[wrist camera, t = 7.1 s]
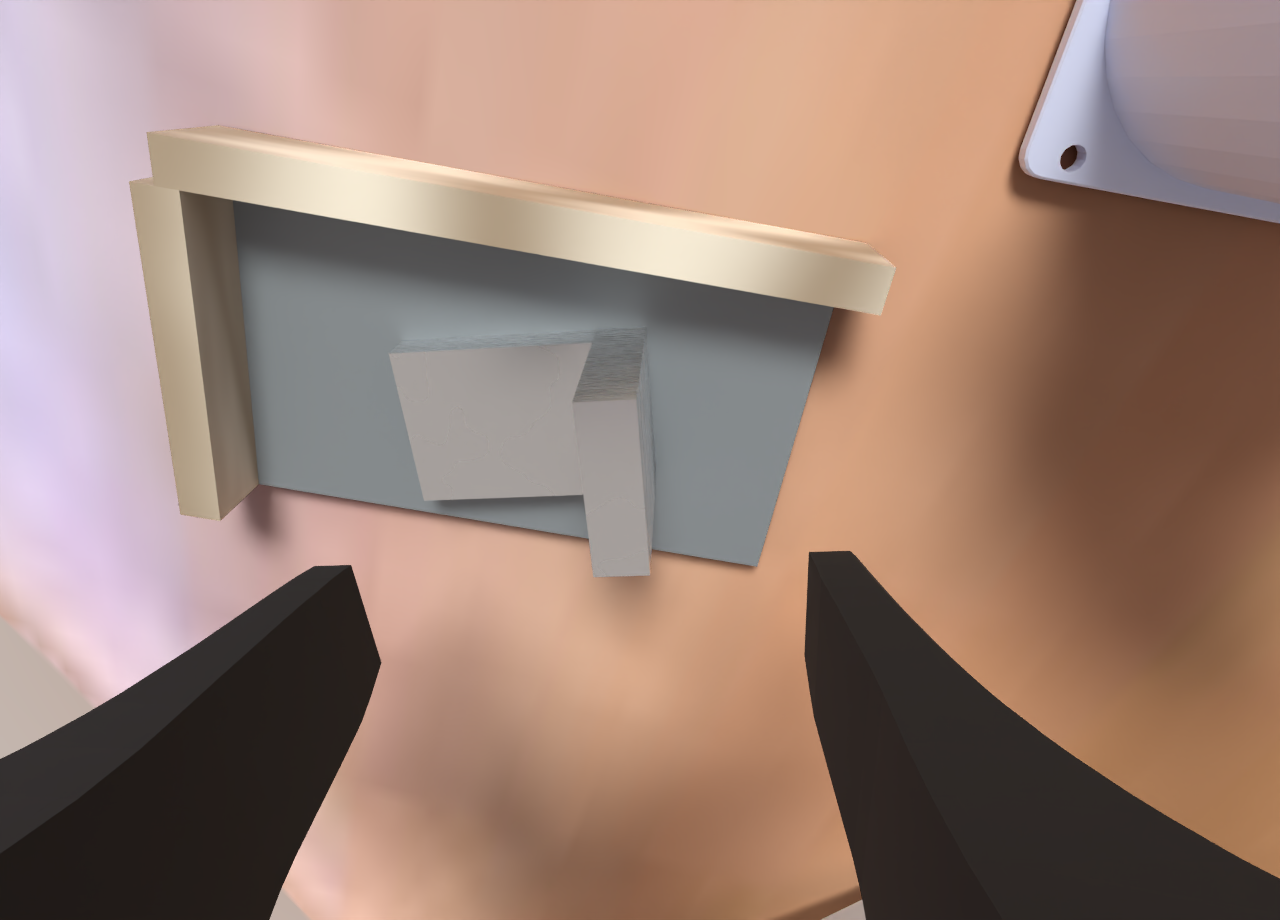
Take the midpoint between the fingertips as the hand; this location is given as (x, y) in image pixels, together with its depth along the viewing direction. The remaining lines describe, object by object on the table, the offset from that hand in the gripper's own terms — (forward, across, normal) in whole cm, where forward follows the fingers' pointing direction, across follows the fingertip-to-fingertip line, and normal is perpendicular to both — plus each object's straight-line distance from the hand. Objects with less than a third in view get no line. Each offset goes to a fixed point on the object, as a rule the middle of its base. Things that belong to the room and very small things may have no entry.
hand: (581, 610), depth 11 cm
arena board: (+8, +2, 0) cm, 9 cm away
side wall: (+8, +10, -2) cm, 13 cm away
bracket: (+8, +2, 0) cm, 8 cm away
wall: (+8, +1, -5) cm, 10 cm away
